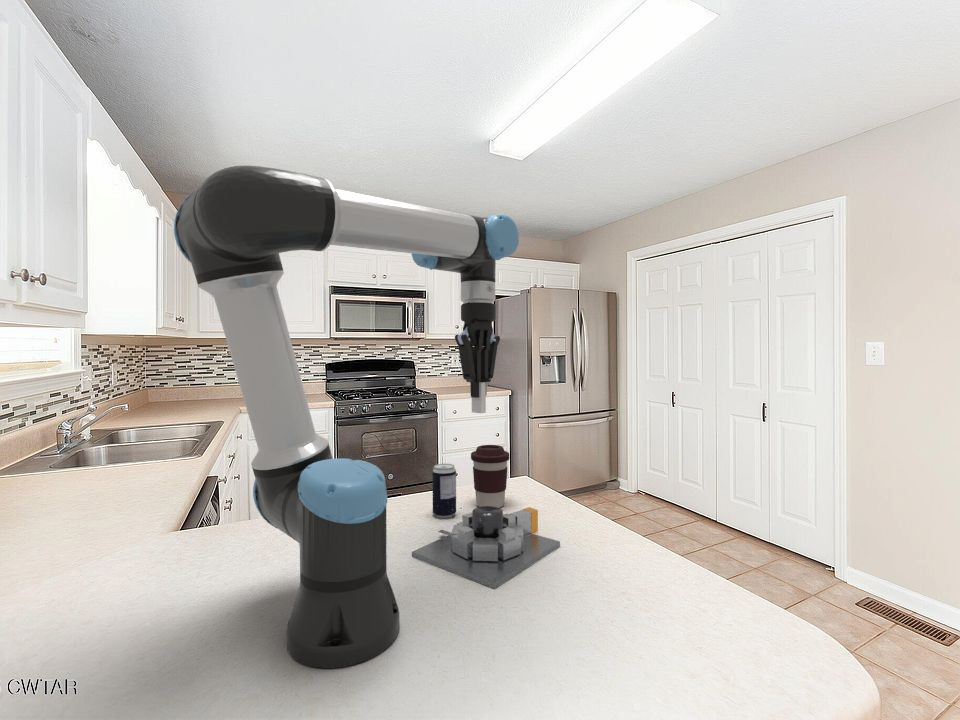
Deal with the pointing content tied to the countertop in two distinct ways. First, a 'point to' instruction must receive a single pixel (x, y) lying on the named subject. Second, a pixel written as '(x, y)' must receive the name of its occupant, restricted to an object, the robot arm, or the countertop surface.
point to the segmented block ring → (494, 547)
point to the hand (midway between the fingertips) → (478, 412)
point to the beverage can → (444, 490)
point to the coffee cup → (490, 475)
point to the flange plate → (486, 572)
